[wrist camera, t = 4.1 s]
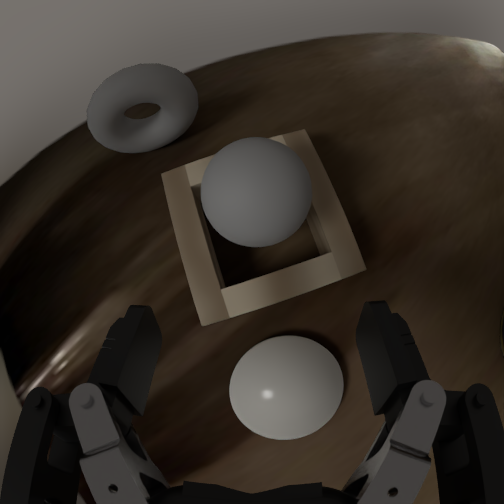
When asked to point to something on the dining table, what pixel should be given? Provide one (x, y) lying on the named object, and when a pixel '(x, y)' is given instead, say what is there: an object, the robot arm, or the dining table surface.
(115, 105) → the donut
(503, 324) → the apothecary jar
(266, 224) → the lightbulb
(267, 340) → the white round part
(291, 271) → the pocket
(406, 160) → the dining table surface
